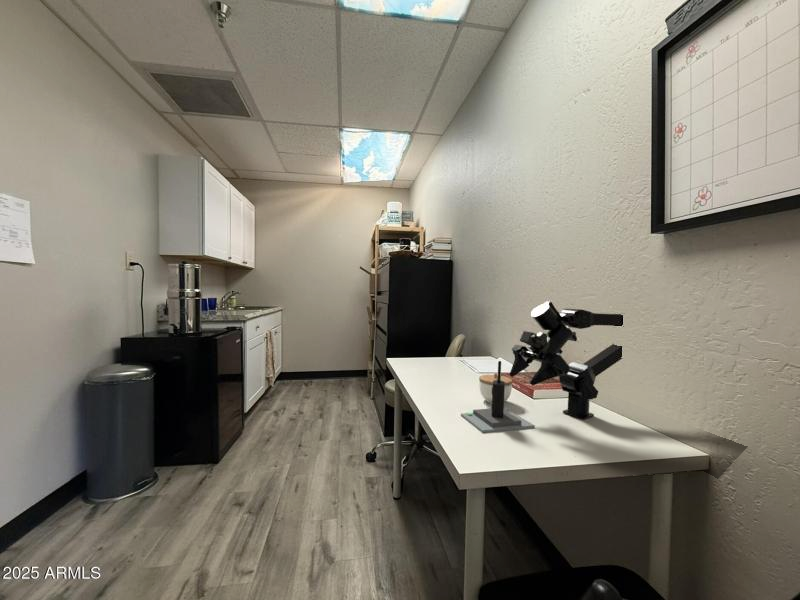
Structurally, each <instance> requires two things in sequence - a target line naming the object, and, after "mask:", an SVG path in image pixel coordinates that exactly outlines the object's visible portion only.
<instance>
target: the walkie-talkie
mask: <svg viewBox="0 0 800 600" xmlns="http://www.w3.org/2000/svg"><path fill="white" fill-rule="evenodd" d="M501 373H502V361H501V360H498V363H497V375H498V379H497V380H494V381H493V387H492V403H491V408H492V417H497V418H503V414H504V410H505V406H504V405H505V402H504V389H505V382H504V381H501V376H502V375H501Z"/></svg>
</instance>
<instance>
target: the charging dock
mask: <svg viewBox="0 0 800 600" xmlns="http://www.w3.org/2000/svg"><path fill="white" fill-rule="evenodd" d="M460 416H461V418H463V419H465V421H467V422H469V424H471V425H472V426H473V427H475V428H476V429H477V430H478V431H479V432H481V433H492V432H493V433H494V432H502V431H513V430H514V429H515V430H521V429H522V430H524V429H523V428H525V429H533V427H535V428H536V425H534V424H533V423H532V422H530V421H528V420H526V419H525V418H523V417H521V416H519V415H518V414H516V413H514V412H512V411H510V410H509V409H504V414H503V418H497V417H492V407H491V408H481V409H472V412H464V413H463V412H462V413H460Z"/></svg>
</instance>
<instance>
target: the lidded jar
mask: <svg viewBox="0 0 800 600" xmlns="http://www.w3.org/2000/svg"><path fill="white" fill-rule="evenodd" d="M478 379H479V383H478V384H479V385H478V386H479V391H480V395H481V397H482V398H483V399H484V401H485V400H486V401H487V403H488V402H490V403H489V404H492V387H493V381H494V380H497V379H498V372H496V373H493V374H482V375H479V377H478ZM501 381H504V382H505V389H504V403H505V402H506V401H507V400H508V399H510V396H511V394H512V389H513V388H512V387H513V380H512V378H510V377H508V376H505V375H501ZM486 401H485V402H486Z"/></svg>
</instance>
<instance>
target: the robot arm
mask: <svg viewBox="0 0 800 600" xmlns="http://www.w3.org/2000/svg"><path fill="white" fill-rule="evenodd" d="M621 314H622V313H621ZM621 314H616V313H599V312H598V313H597V312H592V311H589V310H586V309H579V308H563V309H561V311H560V312H559V311H558V310H557V308H556V307H555V306H554V303H552V301H545V302H544V303H542V304H540V305H538V306H537V307H534V308H533V309H532V311H531V312H530V316H531V317H532V318H533V320H534V321H535V322H536V323H537V324H538V325H539V327H540V328H541V329H542V331H543V330H544V331H547V332H546V333H544V332H541V331H540V332H538V333H535V332H532V331H528V330H527V331H526V330H523V332H522V334H521V336H520V339H519V342H522V343H524V344H526V345H528V347H527V346H526V345H525V346H524V345H521V344H515V345H513V347H512V348H511V351H512V355H514V361H513V364H512V367H511V369H510V372H509V376H510V377H511V378H513V377H515V376H517V375H518V374H519V373H521V372H523V371H524V370H525V369H527V368H528V367H530V365H529V364H532V363H533V361H536V362H539V363H540V367H539V369H537V372H536V373H535V374H534V375H533V377H532V378H531V380H530V381H529V384H530V385H531V386H535V385H538V384H540V383H543V382H545V381H548V380H550V379H551V380H552V379H554V378H557V377H558V380H559V383H560V387H561V390H562V391H563V392H567V393H568V397H567V398H568V399H567V409H565V410H562V413H563V414H566V415H568V416H571V417H574V418H578V419H581V420H586V419H589V418H591V417H594V416H595V414H594V413H593V412H590V400H593V399H597V398H598V397H597V396H598V395H599V390H598V389H597V388H596V387H595V385H594V384H595V381H596V378H597V376H599V375H600V374H602V373H603V372H605V371H606V370H608V369H609V368H611V367H612V366H613V365H615V364H617V363H618V362H620V361H621V360H623V358H621V357H622V346H617V345H614V343H612V344H611V345H609V346H608V347H605V349H603V350H602V351H600V352H599V353H596V355H594V356H593V357H592V358H589V359H588V360H587V361H586V362H583V363H579V362H576V361H572V362H570V363H569V364H568V363H567V361H566V359H564V358H563V357H562V355H561V354H563V353H564V352H563V350H562V348H563V347H564V346H565V345H566V343H567V342H568V341H572V342H577V341H578V338H577V332H576V331H572V329H579V330H582V329H583V330H584V329H587V328H591V327H593V326H608V327H609V326H612V327H614V326H622V325H623V315H621ZM571 328H572V329H571ZM530 350H531V351H530Z"/></svg>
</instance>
